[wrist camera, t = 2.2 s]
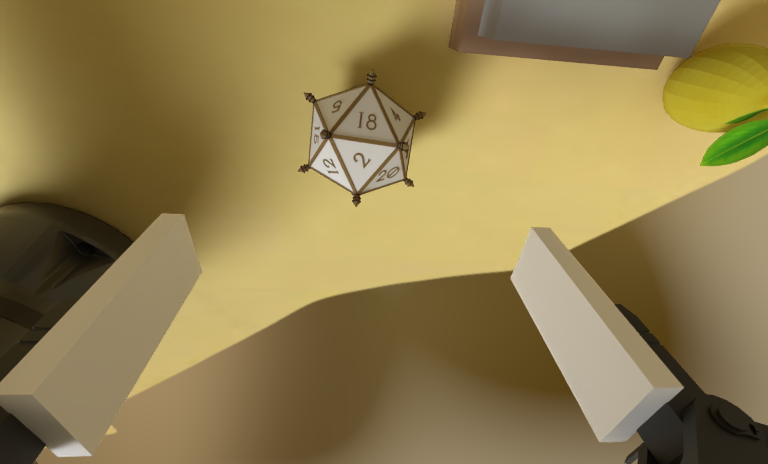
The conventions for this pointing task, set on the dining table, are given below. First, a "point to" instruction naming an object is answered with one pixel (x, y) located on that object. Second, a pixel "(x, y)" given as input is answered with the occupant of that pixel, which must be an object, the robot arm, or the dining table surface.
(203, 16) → the dining table surface
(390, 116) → the game die
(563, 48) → the tower base
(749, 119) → the lemon
